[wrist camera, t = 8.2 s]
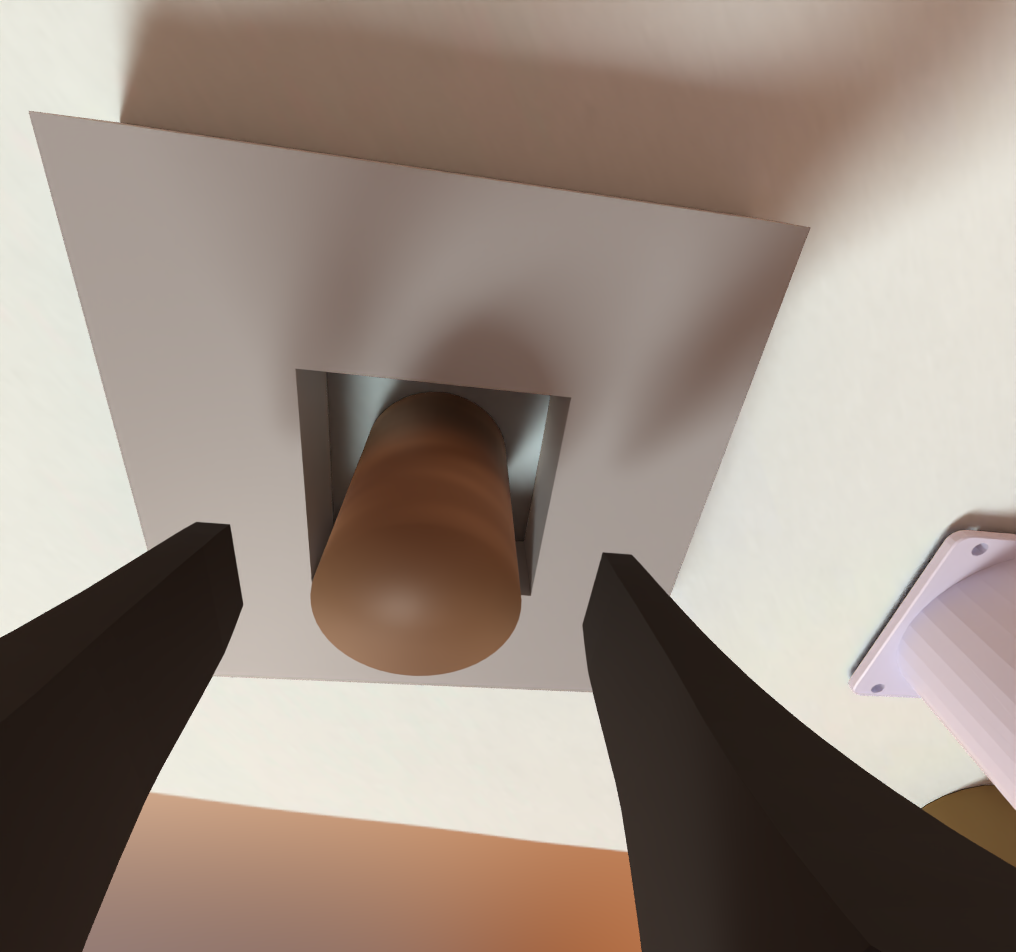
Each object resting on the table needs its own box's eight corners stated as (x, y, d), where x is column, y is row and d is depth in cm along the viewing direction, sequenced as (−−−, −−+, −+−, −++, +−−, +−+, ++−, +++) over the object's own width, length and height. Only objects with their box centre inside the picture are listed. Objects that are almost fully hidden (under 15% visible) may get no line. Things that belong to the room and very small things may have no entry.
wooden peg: (512, 396, 14) (533, 528, 9) (499, 515, 16) (510, 677, 11) (363, 386, 14) (298, 517, 9) (370, 509, 16) (320, 674, 11)
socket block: (752, 217, 12) (810, 227, 10) (615, 635, 19) (632, 693, 17) (118, 122, 11) (28, 110, 9) (217, 613, 18) (181, 674, 16)
